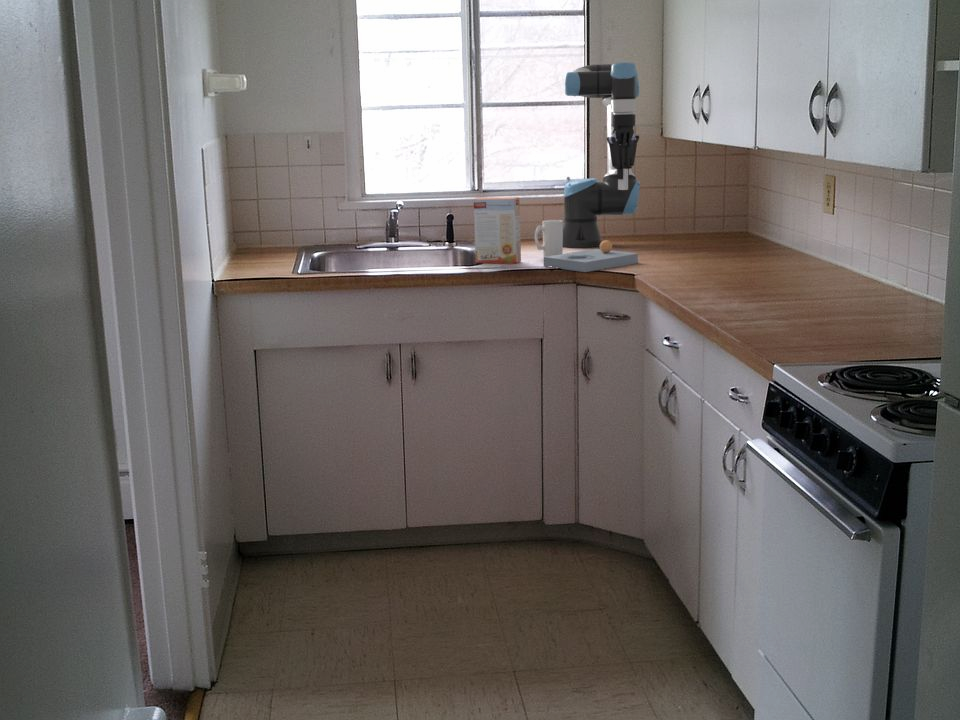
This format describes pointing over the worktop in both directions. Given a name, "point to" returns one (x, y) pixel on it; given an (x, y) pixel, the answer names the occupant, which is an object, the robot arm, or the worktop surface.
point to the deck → (591, 260)
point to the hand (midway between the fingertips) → (623, 189)
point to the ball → (605, 246)
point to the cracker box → (497, 230)
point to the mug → (550, 237)
